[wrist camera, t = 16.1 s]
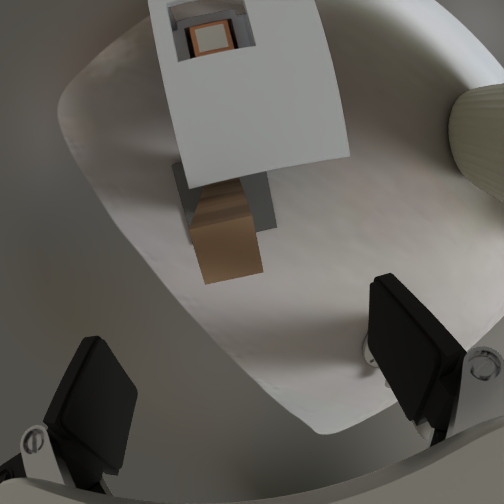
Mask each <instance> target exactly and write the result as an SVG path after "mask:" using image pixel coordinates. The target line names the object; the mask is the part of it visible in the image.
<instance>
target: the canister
mask: <svg viewBox="0 0 504 504" xmlns="http://www.w3.org/2000/svg"><path fill="white" fill-rule="evenodd" d="M448 127H449V131H448V134H449V142H450V148H451V151H452V155H453V157H454V161H455V162H456V165H457V167H458V168H459V169H460V171H461V173H462V174H463V175H464V176H465V177H466V178H467V179H468V180H469V181H470V182H472V183H473V184H474V185H476V186H477V187H479V188H480V189H482V190H484V191H485V192H487V193H489V194H490V195H492V196H493V197H495V198H497V199H498V200H500V201H502V202H503V203H504V83H503V84H496V85H490V86H484V87H479V88H475V89H471V90H469V91H466V92H464V93H463V94H462V95H460V96H459V97H458V99H457V100H456V101H455V103H454V105H453V106H452V111H451V112H450V118H449V125H448Z"/></svg>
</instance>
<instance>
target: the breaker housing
mask: <svg viewBox="0 0 504 504" xmlns="http://www.w3.org/2000/svg"><path fill="white" fill-rule="evenodd" d="M191 1H195V0H148V5H149V11H150V17H151V22H152V28H153V33H154V39H155V44H156V49H157V54H158V59H159V64H160V69H161V74H162V79H163V83H164V88H165V92H166V97H167V101H168V106H169V110H170V114H171V119H172V123H173V127H174V131H175V135H176V139H177V143H178V148H179V152H180V155H181V159H182V163H183V167H184V171H185V175H186V179H187V182H188V186H189V189H192V188H195V187H199V186H203V185H207V184H211V183H215V182H219V181H224V180H228V179H232V178H236V177H241V176H245V175H250V174H254V173H259V172H264V171H269V170H274V169H279V168H284V167H289V166H294V165H300V164H305V163H311V162H317V161H323V160H329V159H336V158H342V157H349V156H350V152H349V145H348V139H347V132H346V126H345V120H344V115H343V109H342V104H341V99H340V94H339V89H338V85H337V80H336V76H335V71H334V67H333V63H332V59H331V55H330V51H329V47H328V43H327V40H326V36H325V33H324V29H323V26H322V23H321V19H320V16H319V13H318V10H317V7H316V4H315V1H314V0H242V2H243V5H244V9H245V12H246V14H242V15H236V12H235V9H232V10H226V11H220V12H214V13H209V14H205V15H200V16H196V17H191V18H187V19H183V20H180V21H177V23H176V21H175V19H174V16H173V14H172V12H171V10H170V7H172V6H175V5H179V4H183V3H187V2H191ZM223 20H227V22H228V26H229V30H230V34H231V38H232V42H233V46H234V49H233V50H228V51H223V52H218V53H213V54H208V55H204V56H200V57H196V56H195V52H194V47H193V43H192V38H191V33H190V29H189V28H190V27H194V26H199V25H203V24H208V23H213V22H218V21H223Z"/></svg>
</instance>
